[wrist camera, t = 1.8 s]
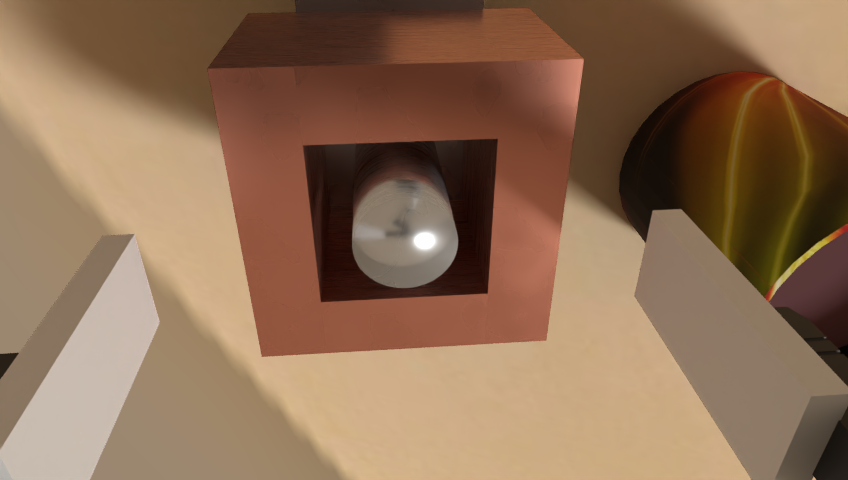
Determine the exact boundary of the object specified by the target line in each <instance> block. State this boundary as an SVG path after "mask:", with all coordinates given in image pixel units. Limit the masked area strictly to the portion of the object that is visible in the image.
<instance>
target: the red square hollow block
mask: <svg viewBox="0 0 848 480" xmlns="http://www.w3.org/2000/svg"><path fill="white" fill-rule="evenodd" d="M583 63H584V59H583V58H582V57H581V56H580V55H579V54H578V53H577V52H576V51H575V50H574V49H573V48H572V47H570V46H569V45H568V44H567V43H566V42H565V41H564V40H563V39H562V38H561V37H560V36H559V35H557V34H556V33H555V32H554V31H553V30H552V29H551V28H550V27H549V26H548V25H547V24H546V23H544V22H543V21H542V20H541V19H540V18H539V17H538V16H537V15H536V14H535V13H534V12H533V11H531V10H530V9H529V8H495V9H445V10H395V11H345V12H295V13H248V15H247V16H246V17H245V19H244V20H243V21H242V23H241V24H240V25H239V27H238V28H237V29H236V31H235V32H234V33H233V35H232V36H231V38H230V39H229V40H228V42H227V43H226V44H225V46H224V47H223V48H222V50H221V51H220V52H219V54H218V55H217V56H216V58H215V59H214V60H213V62H212V63H211V65H210V66H209V67H208V69H207V70H208V75H209V80H210V85H211V91H212V96H213V101H214V107H215V112H216V117H217V122H218V128H219V133H220V138H221V143H222V149H223V154H224V159H225V165H226V170H227V175H228V180H229V186H230V191H231V196H232V201H233V207H234V212H235V217H236V223H237V228H238V233H239V238H240V244H241V249H242V254H243V259H244V265H245V270H246V275H247V281H248V286H249V291H250V296H251V302H252V307H253V312H254V318H255V323H256V328H257V333H258V339H259V344H260V349H261V354H262V357H265V356H283V355H300V354H318V353H335V352H352V351H370V350H387V349H405V348H422V347H440V346H457V345H475V344H492V343H509V342H527V341H544V340H546V338H547V331H548V323H549V316H550V308H551V301H552V294H553V286H554V279H555V271H556V264H557V256H558V249H559V241H560V234H561V227H562V219H563V212H564V204H565V197H566V189H567V182H568V174H569V167H570V160H571V152H572V145H573V137H574V130H575V122H576V115H577V107H578V100H579V92H580V85H581V78H582V70H583ZM442 140H463V168H462V197H461V200H449V202H450V206H451V210H452V214H453V218H454V222H455V226H456V230H457V235H458V248H457V252H456V255H455V258H454V260H453V262H452V263H451V265H450V266H449V267H448V269H447V270H446V271H445V272H444V273H443V274H442V275H440V276H439V277H438V278H436V279H435V280H433V281H431V282H429V283H427V284H424V285H421V286H417V287H411V288H395V287H390V286H386V285H383V284H380V283H378V282H376V281H374V280H373V279H371V278H369V277H368V276H367V275H366V274H365V273H364V272H363V271H362V270H361V269H360V267H359V266H358V264H357V262H356V260H355V258H354V255H353V250H352V230H353V204H347V205H330V196H329V185H328V175H327V164H326V154H325V145H326V144H355V143H384V142H413V141H442Z"/></svg>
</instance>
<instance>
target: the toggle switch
mask: <svg viewBox="0 0 848 480" xmlns="http://www.w3.org/2000/svg"><path fill="white" fill-rule="evenodd" d="M295 5H296V12H345V11H395V10H445V9H483V0H295ZM325 154H326V164H327V175H328V185H329V196H330V205H347V204H353V230H352V250H353V255H354V258H355V260H356V262H357V264H358V266H359V267H360V269H361V270H362V271H363V272H364V273H365V274H366V275H367V276H368V277H369V278H371V279H373V280H374V281H376V282H378V283H380V284H383V285H386V286H390V287H395V288H411V287H417V286H421V285H424V284H427V283H429V282H431V281H433V280H435V279H436V278H438V277H439V276H440V275H442V274H443V273H444V272H445V271H446V270H447V269H448V267H449V266H450V265H451V263H452V262H453V260H454V258H455V255H456V252H457V248H458V235H457V230H456V226H455V222H454V218H453V214H452V210H451V206H450V202H449V200H461V197H462V168H463V140H442V141H413V142H384V143H355V144H326V145H325Z"/></svg>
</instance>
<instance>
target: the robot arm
mask: <svg viewBox="0 0 848 480" xmlns="http://www.w3.org/2000/svg"><path fill="white" fill-rule="evenodd" d="M635 298H636V299H637V301H638V302H639V304H640V305H641V307H642V308H643V310H644V312H645V313H646V315H647V316H648V318H649V319H650V321H651V323H652V324H653V326H654V327H655V329H656V330H657V332H658V334H659V335H660V337H661V338H662V340H663V341H664V343H665V345H666V346H667V348H668V349H669V351H670V352H671V354H672V355H673V357H674V359H675V360H676V362H677V363H678V365H679V366H680V368H681V370H682V371H683V373H684V374H685V376H686V377H687V379H688V381H689V382H690V384H691V385H692V387H693V388H694V390H695V392H696V393H697V395H698V396H699V398H700V399H701V401H702V402H703V404H704V406H705V407H706V409H707V410H708V412H709V413H710V415H711V417H712V418H713V420H714V421H715V423H716V424H717V426H718V428H719V429H720V431H721V432H722V434H723V435H724V437H725V439H726V440H727V442H728V443H729V445H730V446H731V448H732V449H733V451H734V453H735V454H736V456H737V457H738V459H739V460H740V462H741V464H742V465H743V467H744V468H745V470H746V471H747V473H748V475H749V476H750V478H751V479H752V480H812V478H813V476H814V477H815V478H816V480H848V358H847V357H846V356H845V355H844V354H840V350H839V349H838V348H837V347H836V346H835V345H834V344H833V343H832V342H831V341H830V340H827V339H826V336H825V335H824V334H823V333H822V332H821V331H820V330H819V329H818V328H817V327H816V326H815V325H814V324H813V323H812V322H811V321H810V320H808V319H807V318H805V317H803V316H802V315H800V314H798V313H797V312H795V311H793V310H792V309H790V308H788V307H773V306H772V305H771V304H770V303H769V302H768V301H767V300H766V299H765V298H764V297H763V296H762V295H761V294H760V293H759V292H758V291H757V289H756V288H755V287H754V286H753V285H752V284H751V283H750V282H749V281H748V280H747V279H746V278H745V277H744V276H743V275H742V273H741V272H740V271H739V270H738V269H737V268H736V267H735V266H734V265H733V264H732V263H731V262H730V261H729V260H728V259H727V257H726V256H725V255H724V254H723V253H722V252H721V251H720V250H719V249H718V248H717V247H716V246H715V245H714V244H713V243H712V241H711V240H710V239H709V238H708V237H707V236H706V235H705V234H704V233H703V232H702V231H701V230H700V229H699V228H698V227H697V226H696V224H695V223H694V222H693V221H692V220H691V219H690V218H689V217H688V216H687V215H686V214H685V213H684V212H683V211H682V210H681V209H673V210H653V212H652V216H651V221H650V226H649V230H648V235H647V240H646V244H645V249H644V254H643V258H642V263H641V268H640V273H639V277H638V282H637V287H636V291H635ZM159 323H160V322H159V318H158V315H157V311H156V308H155V304H154V301H153V297H152V294H151V290H150V287H149V283H148V280H147V276H146V273H145V269H144V266H143V262H142V259H141V255H140V252H139V248H138V245H137V241H136V238H135V234H127V235H106V236H102V237H101V238H100V240H99V241H98V242H97V244H96V245H95V247H94V248H93V249H92V251H91V252H90V254H89V255H88V256H87V258H86V259H85V261H84V262H83V264H82V265H81V266H80V268H79V269H78V271H77V272H76V273H75V275H74V276H73V278H72V279H71V280H70V282H69V283H68V285H67V286H66V288H65V289H64V290H63V292H62V293H61V295H60V296H59V297H58V299H57V300H56V302H55V303H54V304H53V306H52V307H51V309H50V310H49V312H48V313H47V314H46V316H45V317H44V319H43V320H42V322H41V323H40V324H39V326H38V327H37V329H36V330H35V331H34V333H33V334H32V336H31V337H30V338H29V340H28V341H27V343H26V344H25V345H24V347H23V348H22V350H21V351H20V352H19V353H10V354H9V353H8V354H0V480H90V478H91V476H92V474H93V471H94V469H95V467H96V465H97V462H98V460H99V458H100V456H101V453H102V451H103V449H104V447H105V444H106V442H107V440H108V437H109V435H110V433H111V431H112V429H113V426H114V424H115V422H116V420H117V417H118V415H119V413H120V411H121V408H122V406H123V404H124V401H125V399H126V397H127V395H128V393H129V390H130V388H131V386H132V384H133V381H134V379H135V377H136V375H137V373H138V370H139V368H140V366H141V364H142V361H143V359H144V357H145V355H146V352H147V350H148V348H149V346H150V343H151V341H152V339H153V337H154V334H155V332H156V330H157V328H158V325H159Z"/></svg>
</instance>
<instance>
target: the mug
mask: <svg viewBox="0 0 848 480" xmlns="http://www.w3.org/2000/svg"><path fill="white" fill-rule="evenodd" d="M619 192H620V197H621V202H622V207H623V209H624V211H625V213H626V215H627V217H628V219H629V221H630V222H631V224H632V225H633V226H634V228H635V229H636V230H637V232H638V233H639V235H640V236H641V237H642V239H643V240H644V241H645V243H646V240H647V235H648V230H649V226H650V221H651V216H652V212H653V210H673V209H681V210H682V211H683V212H684V213H685V214H686V215H687V216H688V217H689V218H690V219H691V220H692V221H693V222H694V223H695V224H696V226H697V227H698V228H699V229H700V230H701V231H702V232H703V233H704V234H705V235H706V236H707V237H708V238H709V239H710V240H711V241H712V243H713V244H714V245H715V246H716V247H717V248H718V249H719V250H720V251H721V252H722V253H723V254H724V255H725V256H726V257H727V259H728V260H729V261H730V262H731V263H732V264H733V265H734V266H735V267H736V268H737V269H738V270H739V271H740V272H741V273H742V275H743V276H744V277H745V278H746V279H747V280H748V281H749V282H750V283H751V284H752V285H753V286H754V287H755V288H756V289H757V291H758V292H759V293H760V294H761V295H762V296H763V297H764V298H765V299H766V300H767V301H768V302H769V303H770V304H771V305H772V306H773V307H788V308H790V309H792V310H793V311H795V312H797V313H798V314H800V315H802V316H803V317H805V318H807V319H808V320H810V321H811V322H812V323H813V324H814V325H815V326H816V327H817V328H818V329H819V330H820V331H821V332H822V333H823V334H824V335H825V336H826V339H827V340H830V341H831V342H832V343H833V344H834V345H835V346H836V347H837V348H838V349H839V350H840V354H844V355H845V356H846V357H847V358H848V117H846V116H845V115H843V114H841V113H839V112H837V111H835V110H833V109H832V108H830V107H828V106H826V105H824V104H822V103H820V102H819V101H817V100H815V99H813V98H811V97H809V96H807V95H806V94H804V93H802V92H800V91H798V90H796V89H794V88H793V87H791V86H789V85H787V84H785V83H783V82H782V81H780V80H778V79H776V78H774V77H772V76H768V75H764V74H760V73H756V72H731V73H725V74H719V75H714V76H712V77H709V78H706V79H703V80H701V81H698V82H695V83H693V84H691V85H690V86H688V87H686V88H684V89H682V90H681V91H679V92H677V93H675V94H674V95H673V96H671V97H670V98H669V99H668V100H666V101H665V102H664V103H662V104H661V105H660V106H659V107H658V108H657V109H656V110H655V111H654V112H653V113H652V114H651V115H650V116H649V117H648V118H647V119H646V120H645V121H644V122H643V124H642V125H641V127H640V128H639V130H638V131H637V133H636V134H635V136H634V137H633V139H632V141H631V143H630V145H629V147H628V149H627V152H626V154H625V156H624V159H623V163H622V168H621V172H620V185H619Z"/></svg>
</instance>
